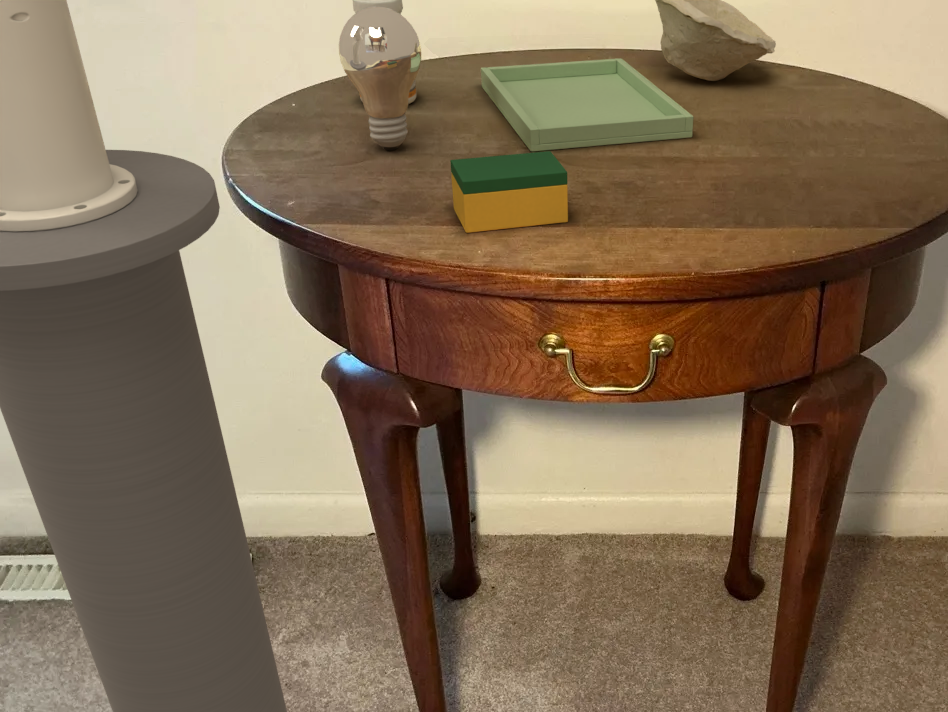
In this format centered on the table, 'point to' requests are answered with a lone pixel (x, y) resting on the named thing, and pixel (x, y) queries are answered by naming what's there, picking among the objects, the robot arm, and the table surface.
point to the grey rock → (709, 37)
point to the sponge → (509, 191)
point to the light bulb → (381, 69)
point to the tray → (583, 104)
